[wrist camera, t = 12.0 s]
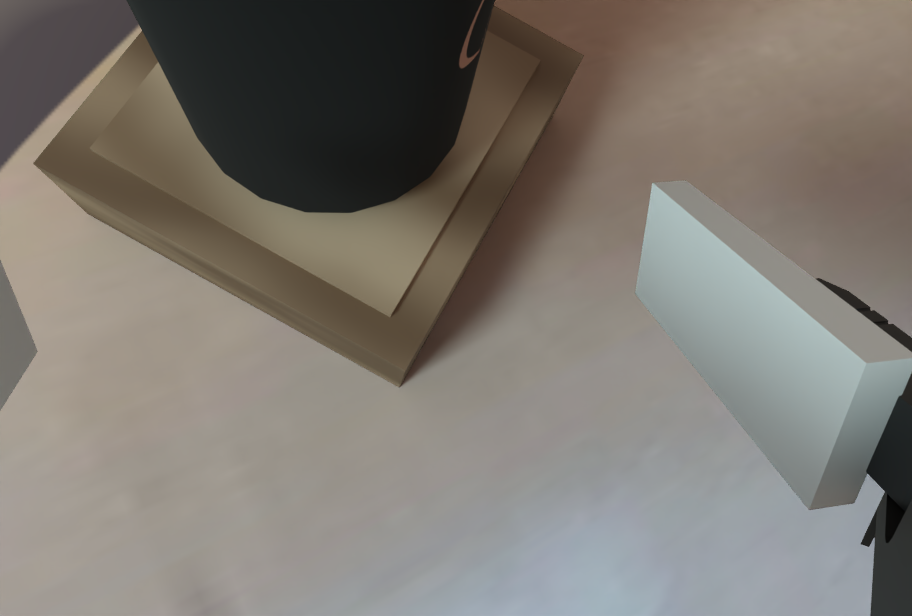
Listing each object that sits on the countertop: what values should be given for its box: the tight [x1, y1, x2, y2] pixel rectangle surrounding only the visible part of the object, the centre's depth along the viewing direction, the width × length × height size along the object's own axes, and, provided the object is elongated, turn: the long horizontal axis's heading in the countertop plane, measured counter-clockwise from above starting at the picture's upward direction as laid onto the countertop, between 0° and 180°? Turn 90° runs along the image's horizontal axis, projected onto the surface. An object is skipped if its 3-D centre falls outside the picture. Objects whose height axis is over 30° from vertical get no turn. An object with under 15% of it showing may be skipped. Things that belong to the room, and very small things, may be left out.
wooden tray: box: [33, 6, 584, 387], centre depth 29 cm, size 16×16×5 cm
